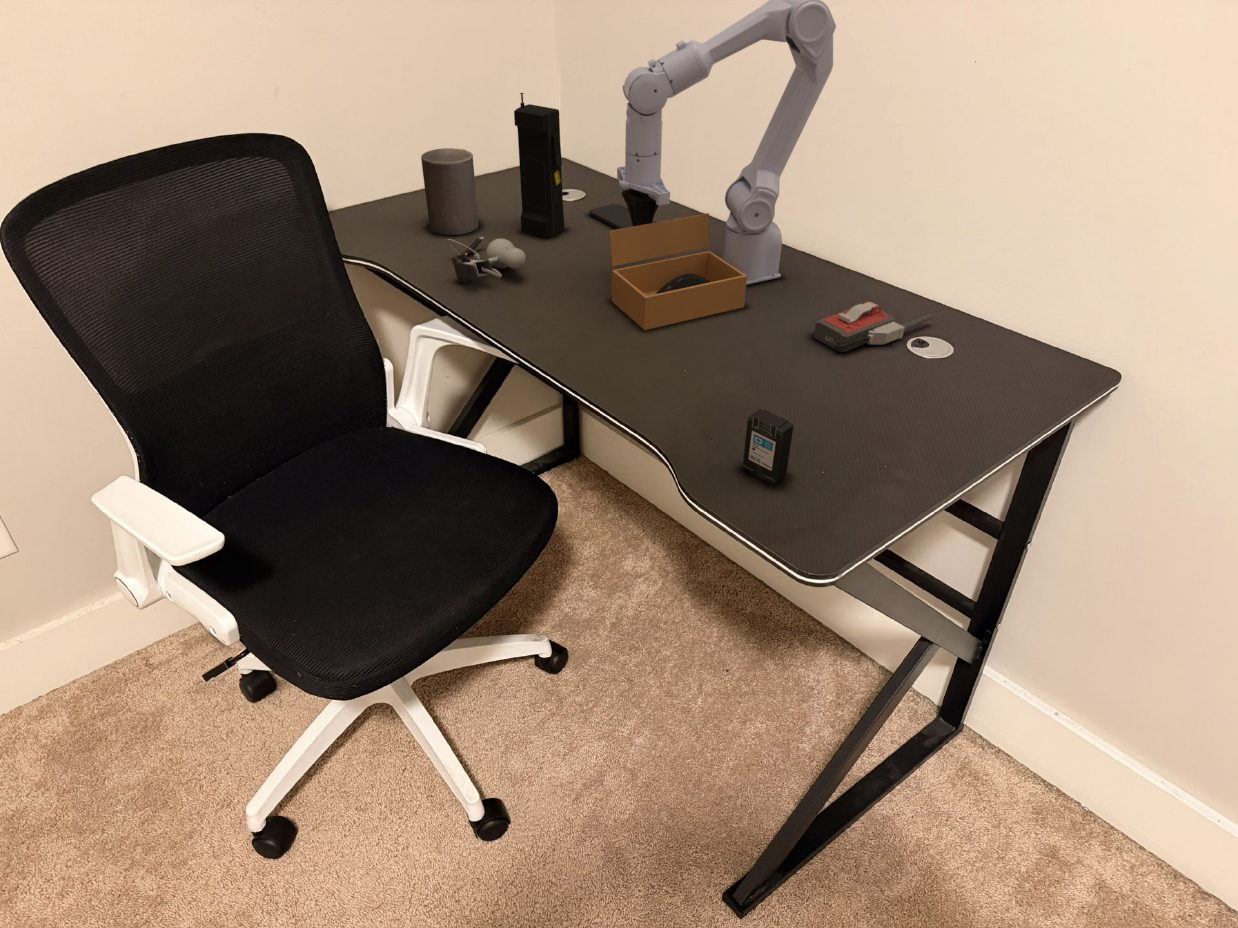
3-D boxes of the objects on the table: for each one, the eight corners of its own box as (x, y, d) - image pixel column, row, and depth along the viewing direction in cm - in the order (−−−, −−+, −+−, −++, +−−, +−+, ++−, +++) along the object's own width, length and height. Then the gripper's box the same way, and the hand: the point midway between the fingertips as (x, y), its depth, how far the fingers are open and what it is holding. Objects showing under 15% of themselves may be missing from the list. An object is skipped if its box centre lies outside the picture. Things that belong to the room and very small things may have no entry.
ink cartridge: (741, 469, 106) (747, 414, 101) (752, 461, 107) (759, 406, 102) (774, 486, 103) (782, 430, 98) (785, 478, 104) (794, 423, 99)
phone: (617, 203, 178) (661, 224, 168) (617, 207, 179) (661, 228, 169) (587, 210, 175) (630, 232, 165) (587, 214, 175) (630, 236, 165)
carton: (644, 330, 135) (645, 297, 132) (611, 301, 143) (611, 270, 140) (744, 307, 142) (747, 275, 138) (707, 280, 150) (709, 250, 147)
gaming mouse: (630, 306, 140) (631, 283, 138) (699, 284, 148) (701, 262, 145) (655, 321, 136) (655, 297, 134) (724, 297, 143) (726, 274, 141)
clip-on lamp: (439, 274, 158) (473, 291, 143) (429, 240, 155) (462, 253, 140) (498, 256, 162) (536, 270, 147) (489, 222, 159) (527, 233, 145)
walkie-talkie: (847, 362, 127) (935, 326, 136) (852, 335, 124) (941, 301, 134) (804, 339, 133) (891, 306, 142) (808, 313, 130) (896, 281, 140)
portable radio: (571, 230, 168) (567, 94, 153) (552, 240, 164) (547, 101, 149) (538, 222, 171) (532, 88, 157) (519, 232, 167) (511, 95, 153)
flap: (609, 231, 137) (608, 231, 137) (612, 266, 139) (611, 266, 140) (709, 213, 144) (708, 213, 144) (709, 247, 146) (709, 247, 146)
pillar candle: (419, 231, 167) (409, 152, 158) (446, 215, 174) (437, 138, 166) (463, 239, 164) (455, 158, 155) (488, 222, 172) (482, 144, 163)
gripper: (600, 142, 141) (601, 223, 149) (642, 167, 130) (640, 253, 138) (639, 137, 143) (637, 217, 151) (683, 161, 133) (679, 246, 141)
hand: (641, 234), depth 145 cm, fingers closed
